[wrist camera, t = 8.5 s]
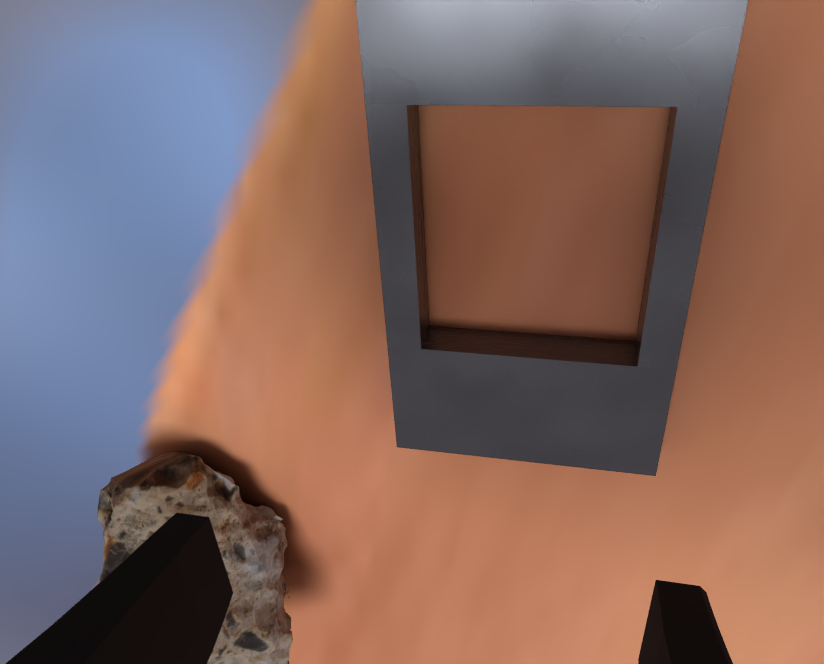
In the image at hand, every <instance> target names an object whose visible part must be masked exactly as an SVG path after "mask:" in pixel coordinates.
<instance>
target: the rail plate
mask: <svg viewBox="0 0 824 664" xmlns="http://www.w3.org/2000/svg"><path fill="white" fill-rule="evenodd" d="M747 3H748V0H356V9H357V20H358V31H359V42H360V53H361V63H362V74H363V85H364V96H365V107H366V118H367V128H368V139H369V150H370V161H371V172H372V183H373V193H374V204H375V215H376V226H377V237H378V248H379V258H380V269H381V280H382V291H383V302H384V312H385V323H386V334H387V345H388V356H389V367H390V377H391V388H392V399H393V410H394V421H395V431H396V442H397V447H401V448H410V449H419V450H428V451H437V452H446V453H454V454H463V455H472V456H481V457H490V458H499V459H508V460H517V461H526V462H535V463H544V464H553V465H562V466H571V467H580V468H589V469H598V470H607V471H616V472H625V473H634V474H643V475H652V476H656V472H657V467H658V462H659V456H660V451H661V446H662V441H663V436H664V431H665V426H666V420H667V415H668V410H669V405H670V400H671V395H672V389H673V384H674V379H675V374H676V369H677V364H678V359H679V353H680V348H681V343H682V338H683V333H684V328H685V322H686V317H687V312H688V307H689V302H690V297H691V292H692V286H693V281H694V276H695V271H696V266H697V261H698V256H699V250H700V245H701V240H702V235H703V230H704V225H705V219H706V214H707V209H708V204H709V199H710V194H711V189H712V183H713V178H714V173H715V168H716V163H717V158H718V153H719V147H720V142H721V137H722V132H723V127H724V122H725V116H726V111H727V106H728V101H729V96H730V91H731V86H732V80H733V75H734V70H735V65H736V60H737V55H738V50H739V44H740V39H741V34H742V29H743V24H744V19H745V13H746V8H747ZM418 105H474V106H606V107H671V108H670V114H669V121H668V128H667V134H666V141H665V148H664V155H663V161H662V168H661V175H660V181H659V188H658V195H657V201H656V208H655V215H654V222H653V228H652V235H651V242H650V248H649V255H648V262H647V268H646V275H645V282H644V289H643V295H642V302H641V309H640V315H639V322H638V329H637V336H636V341H622V340H609V339H595V338H582V337H568V336H555V335H541V334H528V333H514V332H501V331H487V330H474V329H460V328H447V327H433V326H429V313H428V293H427V274H426V254H425V234H424V215H423V195H422V175H421V156H420V136H419V116H418Z"/></svg>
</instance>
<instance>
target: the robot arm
mask: <svg viewBox="0 0 824 664" xmlns="http://www.w3.org/2000/svg"><path fill="white" fill-rule="evenodd" d="M232 595H233V590H232V587H231V584H230V580H229V577H228V574H227V571H226V568H225V565H224V562H223V559H222V555H221V552H220V549H219V546H218V543H217V540H216V537H215V534H214V530H213V527H212V524H211V521H210V518H209V517H205V516H198V515H191V514H184V513H176V514H174V515H173V516H172V517H171V518H170V519H169V520H168V521H167V522H165V523H164V524H163V525H162V526H161V527H160V528H159V529H158V530H157V531H155V532H154V533H153V534H152V535H151V536H150V537H149V538H148V539H147V540H146V541H145V542H144V543H142V544H141V545H140V546H139V547H138V548H137V549H136V550H135V551H134V552H133V553H132V554H131V555H130V556H128V557H127V558H126V559H125V560H124V561H123V562H122V563H121V564H120V565H119V566H118V567H116V568H115V569H114V570H113V571H112V572H111V573H110V574H109V575H108V576H107V577H106V578H105V579H103V580H102V581H101V582H100V583H99V584H98V585H97V586H96V587H95V588H93V589H92V590H91V591H90V592H89V593H88V594H87V595H86V596H84V597H83V598H82V599H81V600H80V601H79V602H78V603H77V604H75V605H74V606H73V607H72V608H71V609H70V610H69V611H68V612H66V613H65V614H64V615H63V616H62V617H61V618H60V619H58V620H57V621H56V622H55V623H54V624H53V625H52V626H50V627H49V628H48V629H47V630H46V631H44V632H43V633H42V634H41V635H40V636H38V637H37V638H36V639H35V640H34V641H32V642H31V643H30V644H29V645H27V646H26V647H25V648H24V649H23V650H22V651H20V652H19V653H18V654H17V655H15V656H14V657H13V658H12V659H11V660H10V661H8V662H7V663H6V664H207V662H208V660H209V658H210V656H211V654H212V651H213V649H214V646H215V643H216V641H217V638H218V635H219V633H220V630H221V627H222V625H223V622H224V619H225V616H226V613H227V610H228V607H229V604H230V601H231V598H232ZM639 664H733V663H732V660H731V658H730V655H729V653H728V651H727V648H726V646H725V643H724V641H723V638H722V635H721V633H720V630H719V628H718V625H717V622H716V620H715V617H714V614H713V611H712V608H711V606H710V603H709V599H708V596H707V593H706V592H705V591H704V590H703V589H702V588H701V587H700V586H695V585H688V584H681V583H674V582H667V581H660V580H656V582H655V586H654V591H653V595H652V600H651V605H650V609H649V614H648V618H647V623H646V627H645V632H644V636H643V641H642V645H641V650H640V655H639Z"/></svg>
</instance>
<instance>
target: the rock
mask: <svg viewBox="0 0 824 664" xmlns="http://www.w3.org/2000/svg"><path fill="white" fill-rule="evenodd" d="M176 513H184V514H191V515H198V516H205V517H209V518H210V521H211V524H212V527H213V530H214V534H215V537H216V540H217V543H218V546H219V549H220V552H221V555H222V559H223V562H224V565H225V568H226V571H227V574H228V577H229V580H230V584H231V587H232V590H233V595H232V598H231V601H230V604H229V607H228V610H227V613H226V616H225V619H224V622H223V625H222V627H221V630H220V633H219V635H218V638H217V641H216V643H215V646H214V649H213V651H212V654H211V656H210V658H209V660H208V662H207V664H289V661H288V659H289V649H290V646H291V644H292V640H293V638H292V631H291V630H290V629H291V617H290V616H289V615H288V614H287V613H286V612H285V609H284V607H283V606H284V596H285V594H286V593H285V592H286V584H285V581H284V579H283V574H282V573H281V572H282V569H283V567H284V551H285V549H286V547H287V546H288V545H287V539H286V536H285V529H286V528H285V527H284V526H283V524H282V523H281V522H280V521H281V520H282V518H280V517H278V516H277V515H276V514H275V512H274V511H273V510H272V509H271V508H269V507H267V506H263V505H261V506H259V507H254V506H252V505H249V504H246V503H244V502H243V501H242V500H241V497H240V494H239V486H236V485H235V484H234V480H233V479H232V478H231V477H230V476H227V475H224V474H221V473H220V472H216V471H214V470H213V469H211V468H210V467H208V466H207V465H206V464H204V463H203V460H202V458H200V457H198V456H194V455H191V454H189V453H185V452H180V451H174V452H169V453H166V454H163V455H160V456H157V457H154V458H152V459H149V460H147V461H145V462H143V463H141V464H139V465H137V466H135V467H134V468H132V469H130V470H128V471H126V472H124V473H121V474H119V475H117V476H115V477H112V478H111V481H110V483H109V484H108V485H107V486H106V487H104V488H103V489H102V490H101V491H100V497H99V505H98V515H97V518H98V520H99V522H100V523H101V525H102V526H103V528H104V532H103V539H104V557H103V570H102V573H101V576H100V582H101V581H102V580H103V579H105V578H106V577H107V576H108V575H109V574H110V573H111V572H112V571H113V570H114V569H115V568H116V567H118V566H119V565H120V564H121V563H122V562H123V561H124V560H125V559H126V558H127V557H128V556H130V555H131V554H132V553H133V552H134V551H135V550H136V549H137V548H138V547H139V546H140V545H141V544H142V543H144V542H145V541H146V540H147V539H148V538H149V537H150V536H151V535H152V534H153V533H154V532H155V531H157V530H158V529H159V528H160V527H161V526H162V525H163V524H164V523H165V522H167V521H168V520H169V519H170V518H171V517H172V516H173V515H174V514H176ZM277 520H280V521H277ZM100 582H99V583H100ZM288 592H289V591H288ZM288 592H287V594H288ZM288 598H289V597H288Z"/></svg>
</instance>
